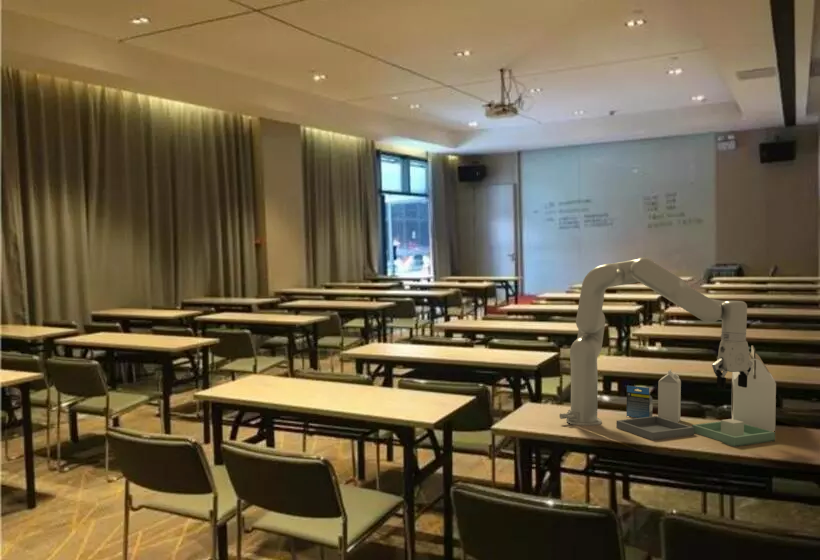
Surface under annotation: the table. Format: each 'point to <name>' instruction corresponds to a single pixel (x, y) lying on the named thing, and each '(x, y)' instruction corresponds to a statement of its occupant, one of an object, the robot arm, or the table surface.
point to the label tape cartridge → (639, 402)
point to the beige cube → (732, 427)
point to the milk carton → (669, 397)
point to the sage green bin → (750, 436)
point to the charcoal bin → (655, 427)
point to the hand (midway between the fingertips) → (731, 387)
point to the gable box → (755, 396)
